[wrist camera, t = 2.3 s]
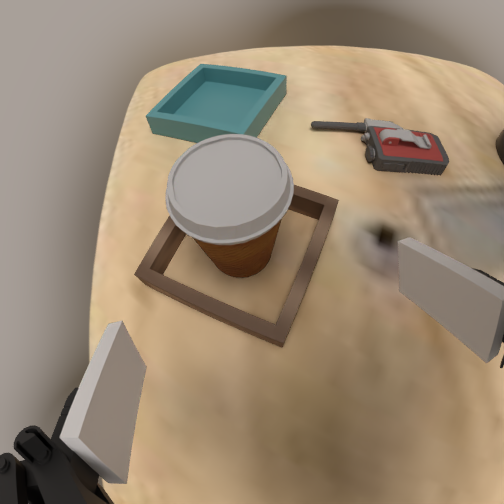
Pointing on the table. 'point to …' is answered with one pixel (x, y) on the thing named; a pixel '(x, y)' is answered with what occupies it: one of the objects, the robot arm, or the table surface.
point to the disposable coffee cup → (231, 199)
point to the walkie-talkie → (396, 146)
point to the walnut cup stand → (275, 334)
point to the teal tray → (218, 103)
